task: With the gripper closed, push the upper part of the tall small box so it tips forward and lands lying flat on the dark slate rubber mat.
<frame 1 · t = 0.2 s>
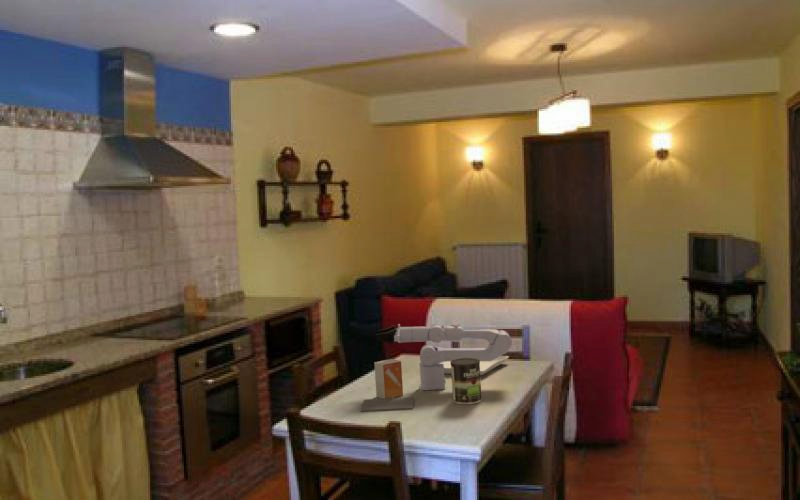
hand: (376, 335, 275), 21 cm above the table, tool horizontal, fingers open, 7 cm apart
small box: (389, 396, 267), on the table
square plate: (467, 370, 301), on the table
coffee can: (467, 401, 255), on the table
mat: (388, 405, 256), on the table
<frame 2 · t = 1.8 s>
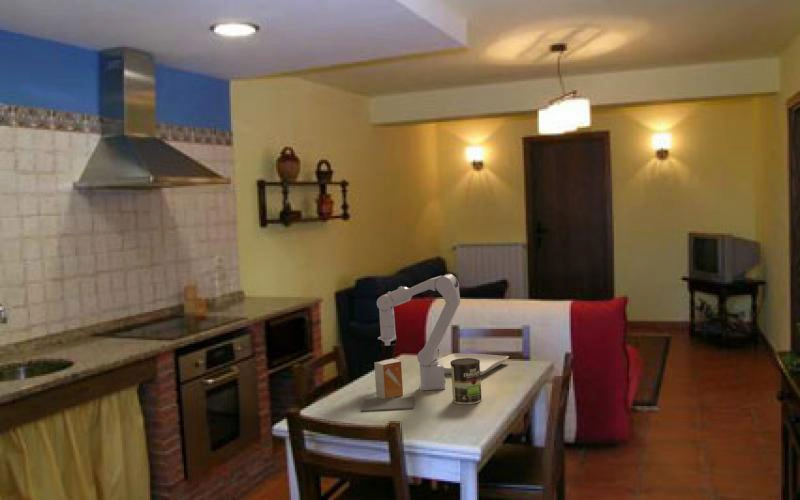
hand: (389, 360, 279), 10 cm above the table, tool pointing down, fingers open, 5 cm apart
nothing on the table moved.
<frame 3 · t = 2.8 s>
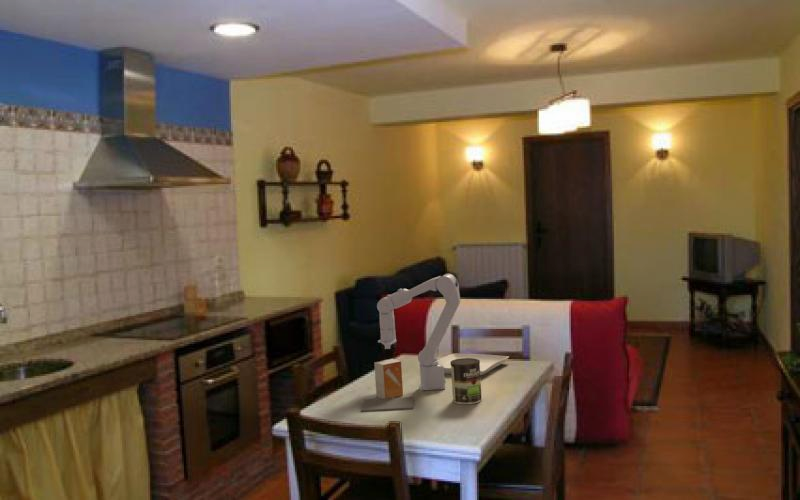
hand: (390, 363, 278), 9 cm above the table, tool pointing down, fingers closed
nothing on the table moved.
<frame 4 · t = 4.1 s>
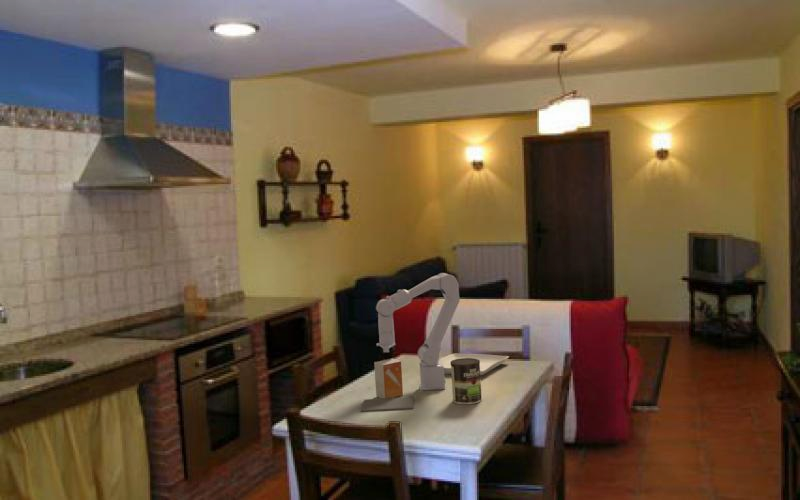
hand: (388, 367, 272), 10 cm above the table, tool pointing down, fingers closed, pressing on small box
small box: (389, 396, 267), on the table, touching gripper
everything else where it was.
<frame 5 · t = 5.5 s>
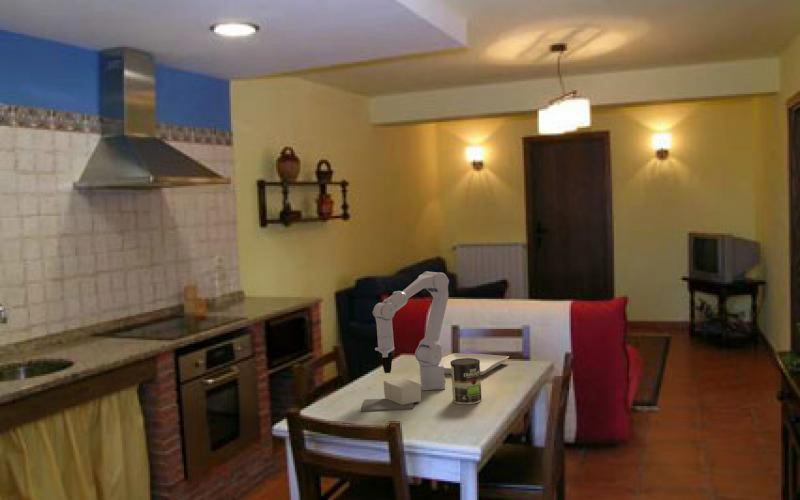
hand: (387, 372, 264), 9 cm above the table, tool pointing down, fingers closed
small box: (393, 387, 265), point 4 cm above the table, touching mat
everything else where it was.
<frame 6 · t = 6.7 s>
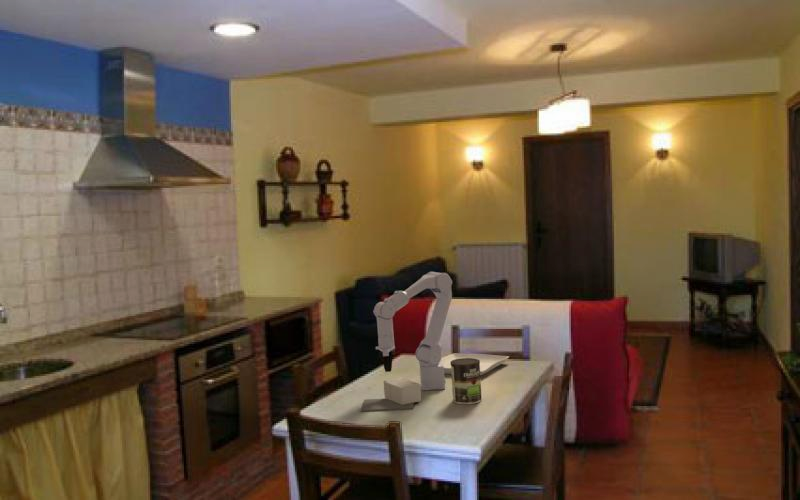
hand: (388, 371, 266), 9 cm above the table, tool pointing down, fingers closed
nothing on the table moved.
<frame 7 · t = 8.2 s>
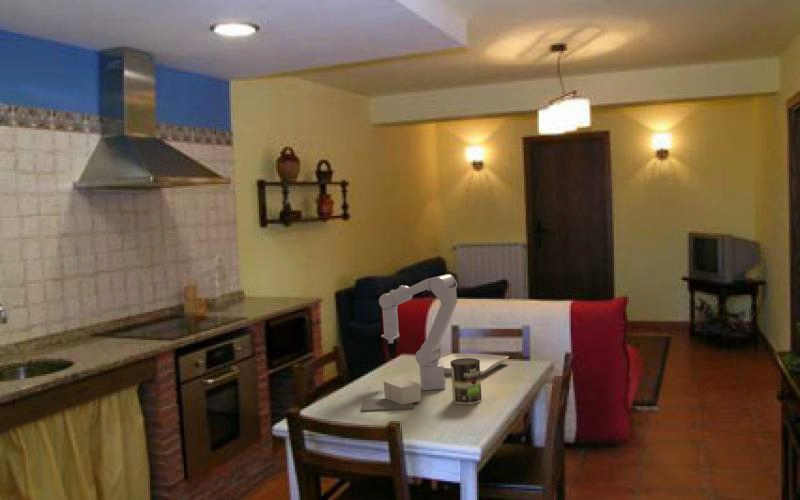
hand: (393, 357, 283), 10 cm above the table, tool pointing down, fingers closed
nothing on the table moved.
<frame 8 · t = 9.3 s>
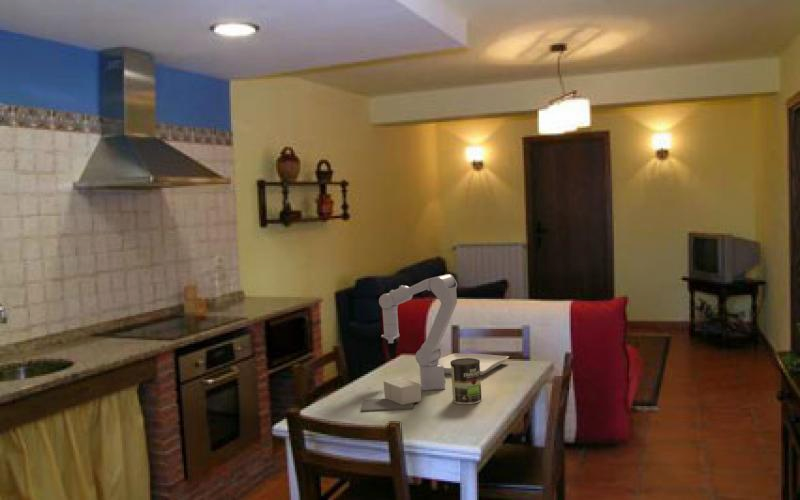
hand: (393, 357, 283), 10 cm above the table, tool pointing down, fingers closed
nothing on the table moved.
at the end: small box tilted 89°; small box touching mat; small box inside the target area (5.9 cm from its centre), point 3.6 cm above the table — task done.
